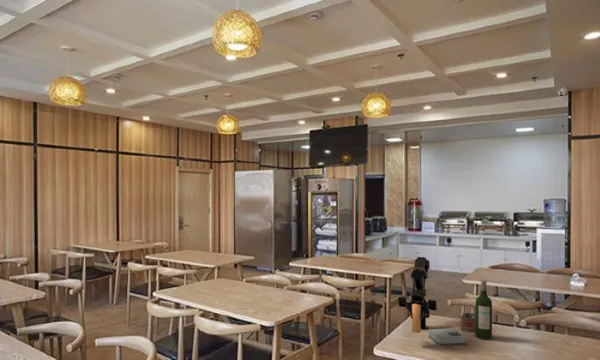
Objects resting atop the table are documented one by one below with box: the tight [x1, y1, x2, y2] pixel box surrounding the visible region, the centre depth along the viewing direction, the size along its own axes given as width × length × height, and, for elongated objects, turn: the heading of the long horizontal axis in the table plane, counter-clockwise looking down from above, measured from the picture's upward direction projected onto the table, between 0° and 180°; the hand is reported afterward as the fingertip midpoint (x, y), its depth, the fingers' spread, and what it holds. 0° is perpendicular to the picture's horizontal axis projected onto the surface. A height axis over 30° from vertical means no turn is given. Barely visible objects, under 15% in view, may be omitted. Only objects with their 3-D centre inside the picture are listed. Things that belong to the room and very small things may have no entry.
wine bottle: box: [475, 279, 493, 341], centre depth 216 cm, size 8×8×30 cm
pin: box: [411, 304, 422, 334], centre depth 203 cm, size 4×4×13 cm
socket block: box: [428, 328, 467, 346], centre depth 210 cm, size 12×14×4 cm
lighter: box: [460, 311, 476, 334], centre depth 225 cm, size 8×3×10 cm, turn 62°
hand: (416, 318), depth 202 cm, fingers closed on pin, 4 cm apart
